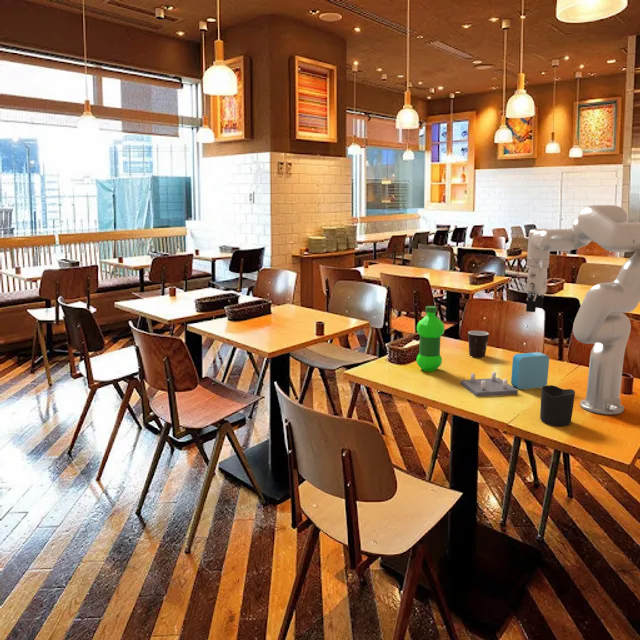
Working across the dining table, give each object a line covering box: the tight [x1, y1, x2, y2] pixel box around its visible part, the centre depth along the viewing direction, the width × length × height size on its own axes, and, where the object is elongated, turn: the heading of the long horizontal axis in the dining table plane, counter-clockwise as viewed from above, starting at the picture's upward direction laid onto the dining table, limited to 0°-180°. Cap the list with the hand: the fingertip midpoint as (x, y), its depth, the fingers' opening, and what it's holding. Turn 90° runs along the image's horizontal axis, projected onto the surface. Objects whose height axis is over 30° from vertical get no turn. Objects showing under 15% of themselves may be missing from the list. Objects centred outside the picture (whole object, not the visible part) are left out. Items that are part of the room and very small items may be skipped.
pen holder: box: [539, 384, 576, 428], centre depth 179 cm, size 9×9×10 cm
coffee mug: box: [467, 330, 490, 359], centre depth 250 cm, size 12×9×10 cm
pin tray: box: [459, 371, 519, 398], centre depth 209 cm, size 14×15×4 cm
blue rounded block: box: [510, 351, 550, 390], centre depth 211 cm, size 12×4×12 cm, turn 106°
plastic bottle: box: [415, 305, 445, 373], centre depth 230 cm, size 10×10×25 cm
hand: (534, 309), depth 219 cm, fingers open, 9 cm apart
